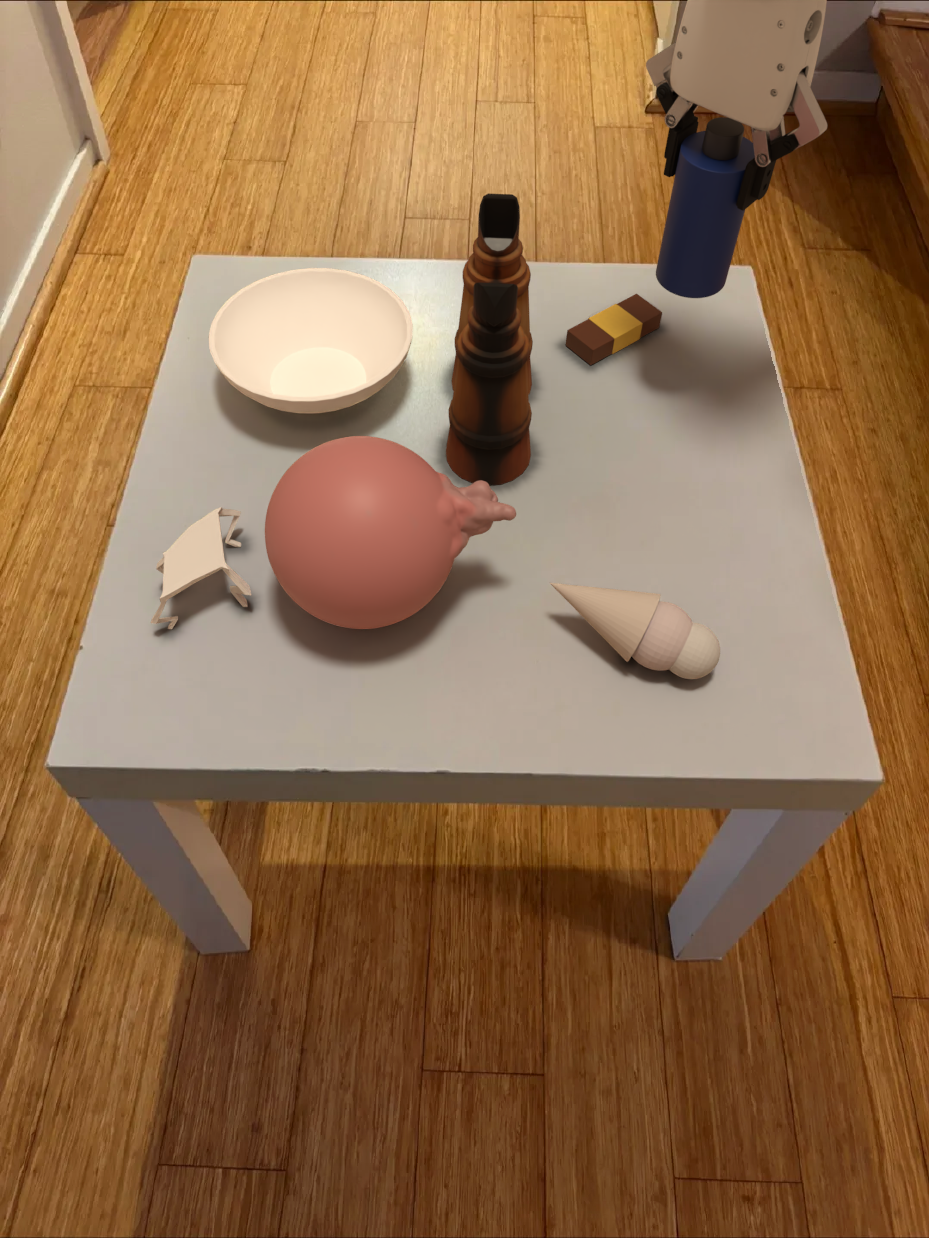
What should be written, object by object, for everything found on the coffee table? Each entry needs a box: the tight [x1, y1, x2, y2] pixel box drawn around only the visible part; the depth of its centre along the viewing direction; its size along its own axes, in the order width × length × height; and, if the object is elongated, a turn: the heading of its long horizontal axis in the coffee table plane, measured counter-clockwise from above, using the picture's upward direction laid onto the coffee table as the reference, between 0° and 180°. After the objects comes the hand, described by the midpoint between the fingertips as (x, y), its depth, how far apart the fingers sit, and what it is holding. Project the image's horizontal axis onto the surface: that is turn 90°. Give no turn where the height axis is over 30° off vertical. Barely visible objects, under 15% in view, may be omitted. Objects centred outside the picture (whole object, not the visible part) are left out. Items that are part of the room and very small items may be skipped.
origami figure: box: [150, 506, 252, 630], centre depth 83 cm, size 12×8×5 cm
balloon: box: [264, 435, 517, 630], centre depth 79 cm, size 15×20×15 cm
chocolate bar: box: [565, 293, 663, 366], centre depth 104 cm, size 10×4×2 cm, turn 128°
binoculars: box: [445, 193, 534, 486], centre depth 89 cm, size 18×8×20 cm, turn 177°
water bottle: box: [655, 116, 755, 299], centre depth 84 cm, size 6×6×14 cm
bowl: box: [208, 267, 414, 414], centre depth 97 cm, size 20×20×7 cm
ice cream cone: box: [549, 582, 721, 680], centre depth 80 cm, size 6×6×15 cm
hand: (712, 184), depth 82 cm, fingers closed on water bottle, 6 cm apart
